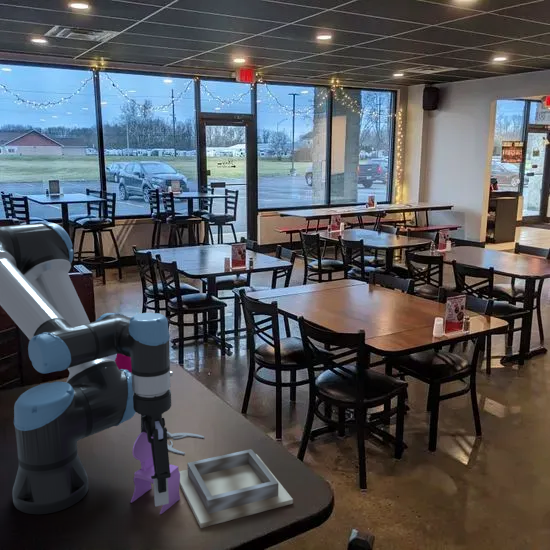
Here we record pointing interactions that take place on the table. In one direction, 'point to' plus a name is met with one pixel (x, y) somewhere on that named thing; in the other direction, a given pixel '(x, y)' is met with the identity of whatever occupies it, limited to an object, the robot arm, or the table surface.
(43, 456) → the robot arm
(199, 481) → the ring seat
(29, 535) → the table surface
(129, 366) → the pepper mill
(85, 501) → the table surface
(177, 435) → the pliers
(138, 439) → the toy chair
